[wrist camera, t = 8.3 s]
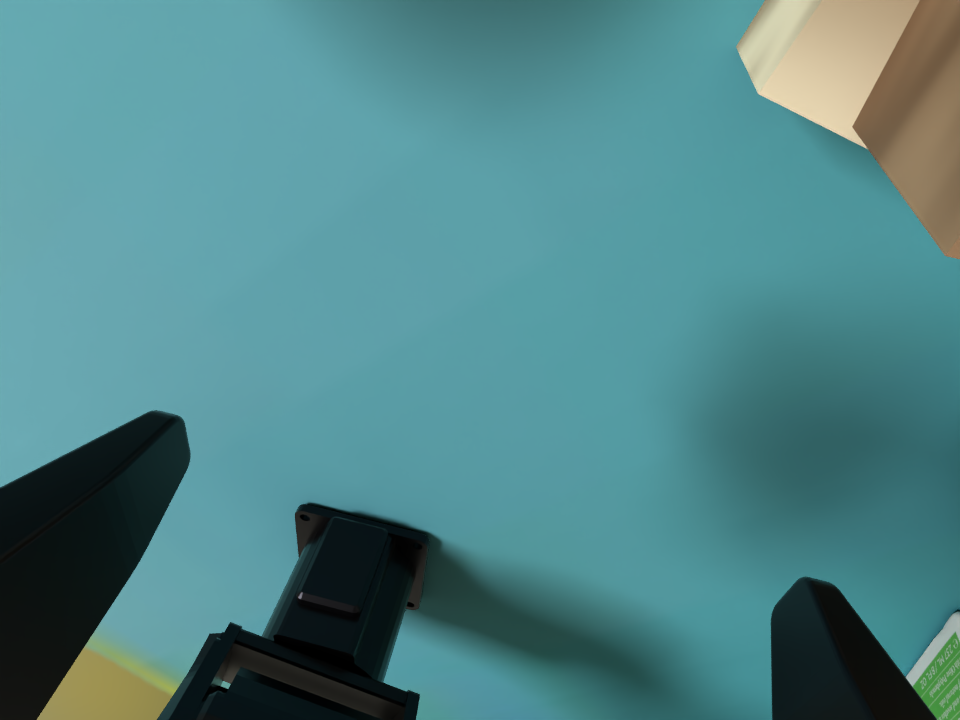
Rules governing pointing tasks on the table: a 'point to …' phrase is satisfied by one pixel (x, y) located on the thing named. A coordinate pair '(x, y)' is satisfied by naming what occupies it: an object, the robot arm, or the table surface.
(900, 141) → the walnut cube
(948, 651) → the skincare box
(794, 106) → the maple block
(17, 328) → the table surface
